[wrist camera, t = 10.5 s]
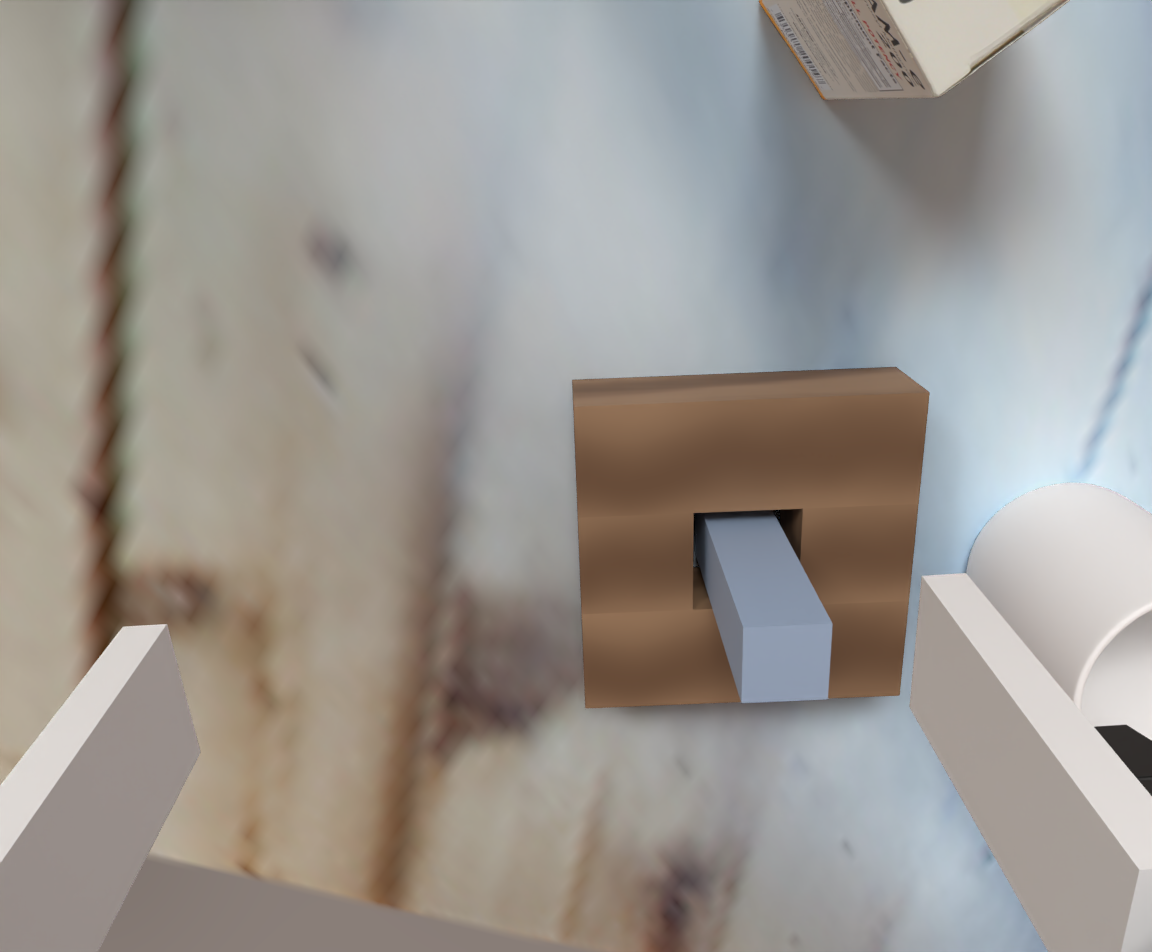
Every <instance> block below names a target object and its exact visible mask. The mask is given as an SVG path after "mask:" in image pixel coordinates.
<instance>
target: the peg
mask: <svg viewBox="0 0 1152 952" xmlns="http://www.w3.org/2000/svg"><path fill="white" fill-rule="evenodd" d="M695 554H696V557H697V560H698V564H699V567H700V570H701V573H702V577H703V580H704V583H705V586H706V590H707V593H708V596H709V599H710V603H711V606H712V609H713V612H714V616H715V619H716V622H717V625H718V629H719V632H720V635H721V638H722V642H723V645H724V648H725V651H726V655H727V658H728V661H729V664H730V668H731V671H732V674H733V677H734V681H735V684H736V687H737V691H738V694H739V697H740V700H741V703H759V702H781V701H803V700H825V699H828V689H829V673H830V657H831V641H832V625H833V623H832V622H831V620H830V618H829V616H828V614H827V612H826V610H825V608H824V606H823V605H822V603H821V601H820V599H819V597H818V595H817V593H816V591H815V590H814V588H813V586H812V584H811V582H810V580H809V578H808V576H807V575H806V573H805V571H804V569H803V567H802V565H801V563H800V561H799V559H798V558H797V556H796V554H795V552H794V550H793V548H792V546H791V544H790V543H789V541H788V539H787V537H786V535H785V533H784V531H783V529H782V528H781V526H780V524H779V522H778V520H777V518H776V516H775V514H774V512H773V511H772V510H757V511H732V512H707V513H695Z"/></svg>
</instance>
